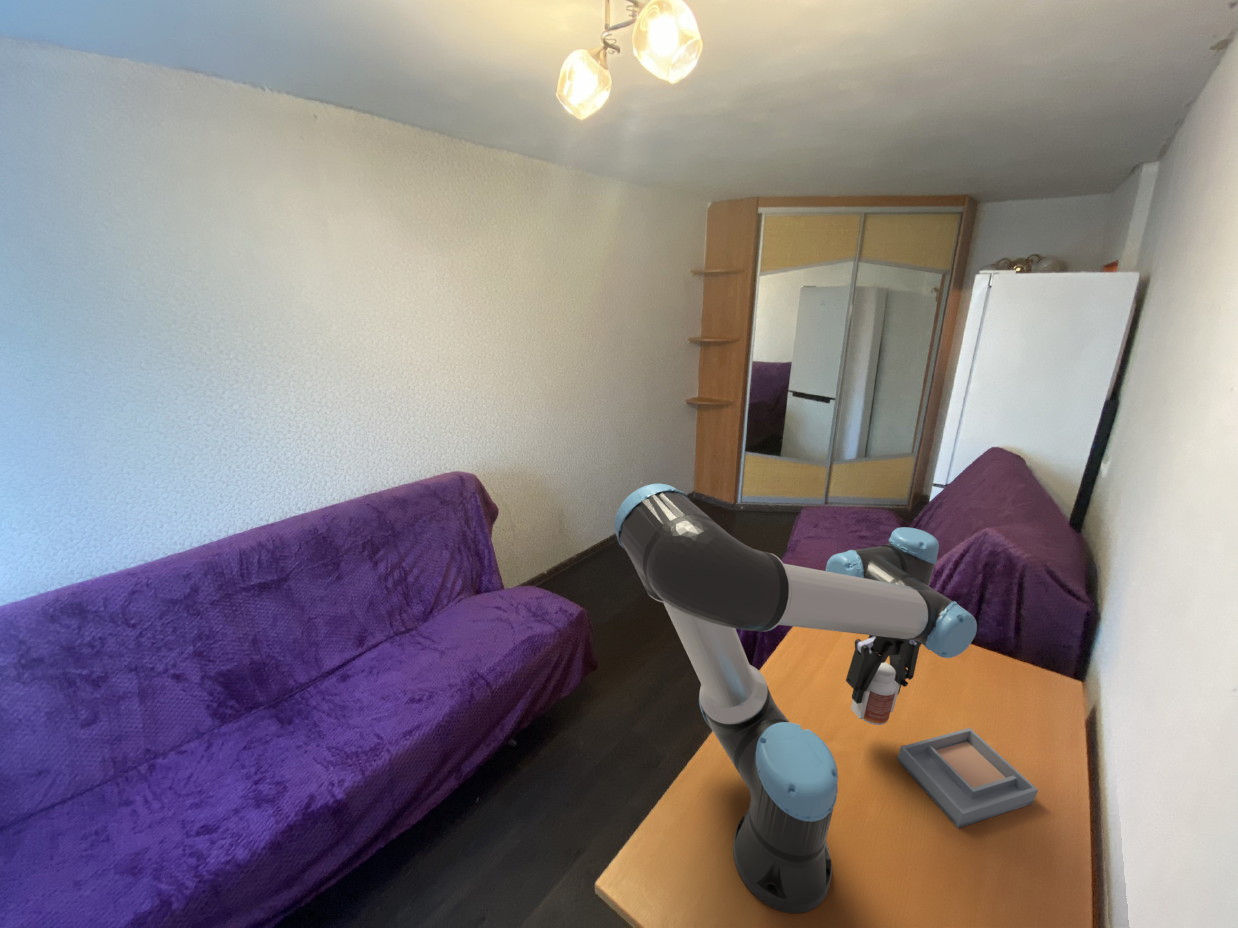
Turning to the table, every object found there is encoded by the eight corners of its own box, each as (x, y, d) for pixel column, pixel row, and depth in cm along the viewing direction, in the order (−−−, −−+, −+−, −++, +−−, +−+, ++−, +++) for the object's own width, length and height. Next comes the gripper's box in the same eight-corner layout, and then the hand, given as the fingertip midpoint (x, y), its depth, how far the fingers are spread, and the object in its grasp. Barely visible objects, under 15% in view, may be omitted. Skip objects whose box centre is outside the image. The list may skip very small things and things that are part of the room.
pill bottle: (894, 718, 102) (907, 672, 99) (876, 731, 99) (888, 684, 95) (865, 697, 107) (876, 653, 104) (847, 709, 104) (857, 664, 100)
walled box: (957, 828, 91) (962, 814, 89) (897, 759, 103) (900, 746, 102) (1032, 803, 95) (1038, 789, 94) (965, 740, 108) (969, 727, 106)
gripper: (867, 630, 89) (842, 735, 97) (956, 615, 94) (926, 715, 102) (838, 605, 96) (817, 704, 104) (923, 592, 101) (897, 688, 109)
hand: (871, 710), depth 103 cm, fingers closed on pill bottle, 6 cm apart
